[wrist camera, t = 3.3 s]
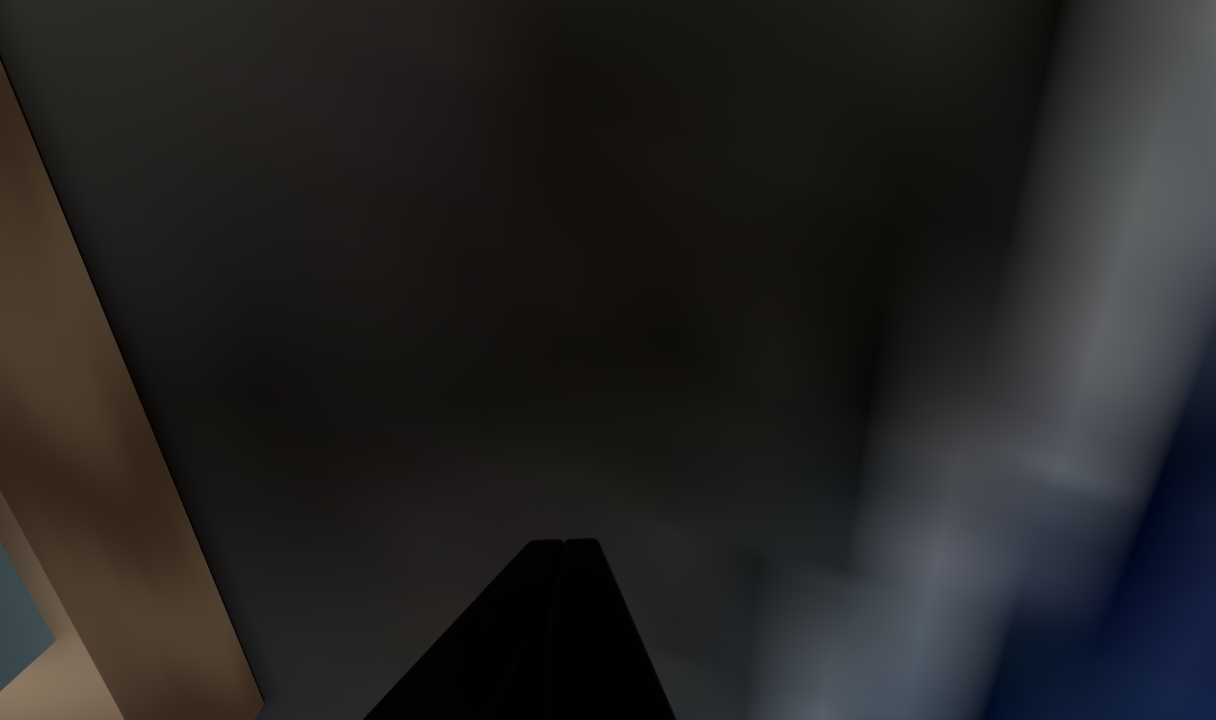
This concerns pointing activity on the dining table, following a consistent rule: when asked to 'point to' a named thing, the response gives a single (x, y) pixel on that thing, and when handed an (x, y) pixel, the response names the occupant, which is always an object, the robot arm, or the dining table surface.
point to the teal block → (18, 624)
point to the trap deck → (93, 493)
